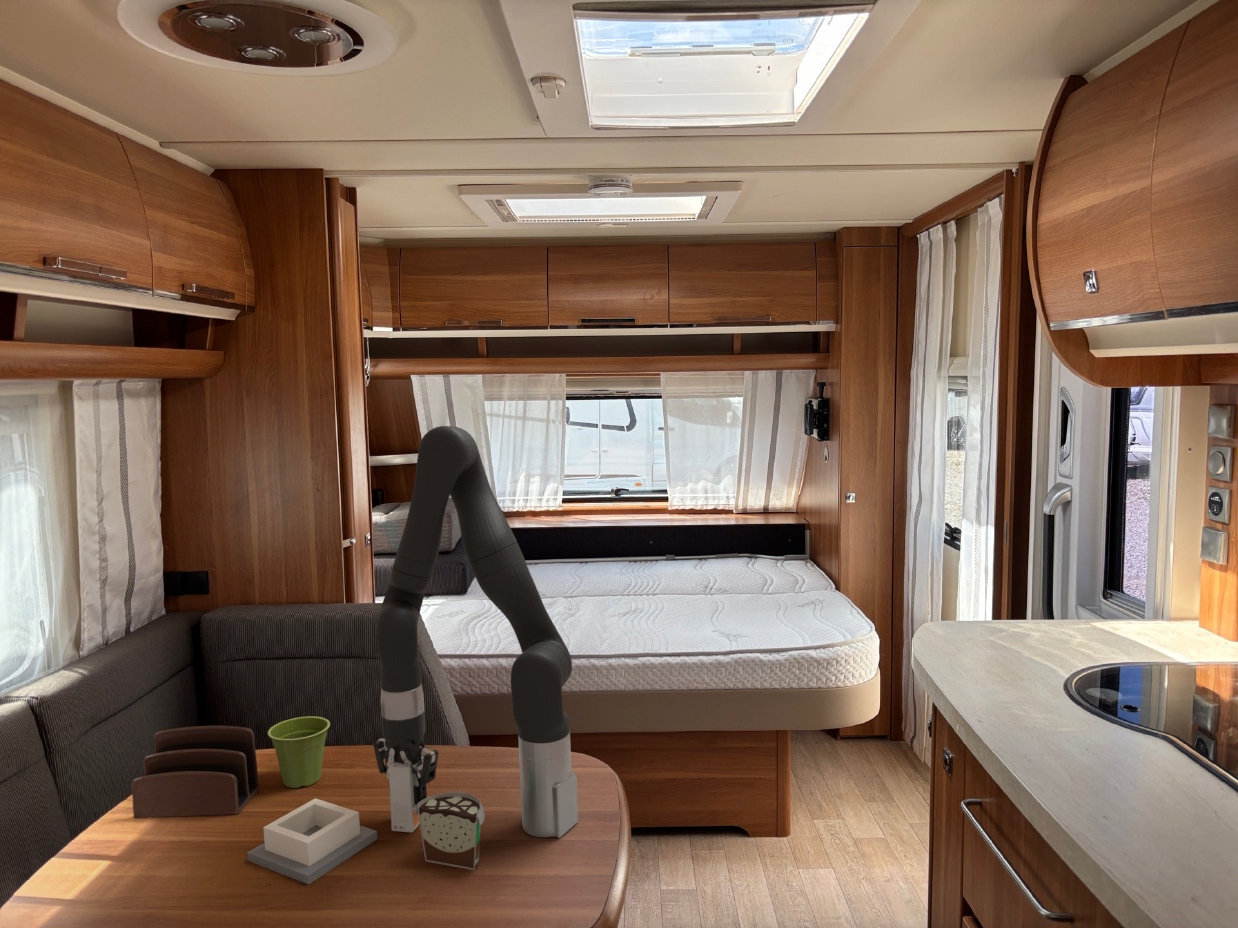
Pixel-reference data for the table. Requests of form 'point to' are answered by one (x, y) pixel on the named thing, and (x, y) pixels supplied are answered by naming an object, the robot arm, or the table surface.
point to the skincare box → (402, 798)
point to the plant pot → (300, 749)
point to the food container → (451, 828)
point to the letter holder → (197, 773)
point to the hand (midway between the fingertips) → (408, 799)
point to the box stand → (311, 841)
